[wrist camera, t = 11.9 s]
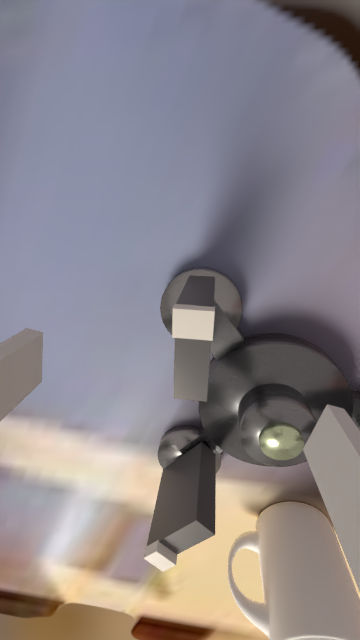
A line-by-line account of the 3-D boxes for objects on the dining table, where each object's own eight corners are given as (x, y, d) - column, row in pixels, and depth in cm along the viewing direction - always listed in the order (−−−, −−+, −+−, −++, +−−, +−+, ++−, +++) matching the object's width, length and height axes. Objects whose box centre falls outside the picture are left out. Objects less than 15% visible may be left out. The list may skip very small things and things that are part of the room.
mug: (227, 492, 31) (231, 620, 21) (336, 502, 29) (396, 647, 19) (225, 538, 34) (228, 670, 24) (324, 550, 32) (371, 696, 23)
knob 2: (201, 441, 27) (194, 530, 19) (215, 453, 27) (215, 545, 20) (162, 468, 29) (143, 558, 21) (177, 479, 29) (162, 571, 22)
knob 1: (210, 345, 23) (207, 409, 15) (186, 343, 23) (170, 405, 15) (215, 276, 21) (214, 311, 13) (188, 275, 21) (172, 308, 13)
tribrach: (159, 467, 31) (146, 521, 25) (163, 264, 22) (146, 280, 17) (386, 501, 28) (427, 570, 23) (492, 287, 20) (601, 314, 14)
